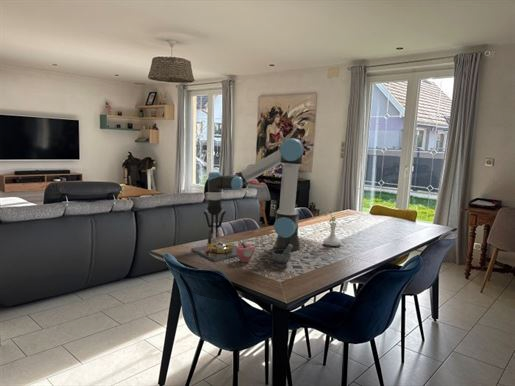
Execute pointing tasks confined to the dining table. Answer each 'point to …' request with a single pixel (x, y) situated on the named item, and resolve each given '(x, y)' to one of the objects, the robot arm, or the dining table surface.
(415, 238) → the dining table surface
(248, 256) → the red apple
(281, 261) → the mortar and pestle
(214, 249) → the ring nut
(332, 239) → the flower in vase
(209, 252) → the gray square tray
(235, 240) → the dining table surface
